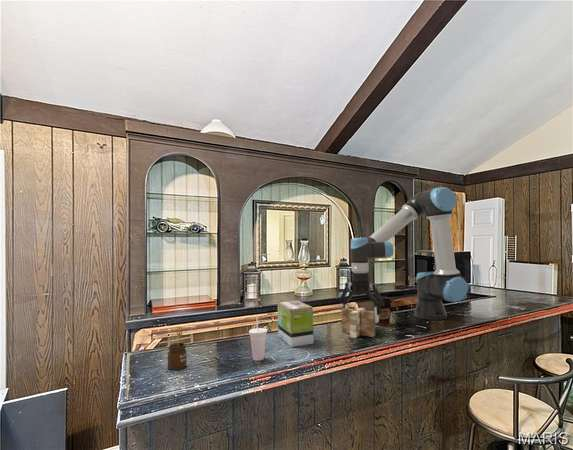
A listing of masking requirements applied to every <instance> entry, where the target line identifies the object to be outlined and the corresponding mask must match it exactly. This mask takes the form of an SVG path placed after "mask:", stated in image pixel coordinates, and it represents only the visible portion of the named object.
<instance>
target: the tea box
mask: <svg viewBox="0 0 573 450" xmlns="http://www.w3.org/2000/svg"><path fill="white" fill-rule="evenodd" d="M277 333H278V337H279V338H280V339H281V340H283V341H284V342H285V343H286V344H287V345H289V346H290V347H291V348H293V347H301V346H307V345H312V344H314V342H315V341H314V340H315V338H314V336H315V335H314V309H313V306H311V305H310V304H306V303H304V302H303V301H299V300H292V301H290V300H289V301H283V302H282V301H281V302H277Z"/></svg>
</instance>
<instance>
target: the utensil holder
mask: <svg viewBox="0 0 573 450" xmlns="http://www.w3.org/2000/svg"><path fill="white" fill-rule="evenodd" d="M176 331H177V332H176V336H175V339H177V342H175V340H174V339H173V338H174V334H172V336H171V342H172V343H171V344H169V346H168V353H167V368H168V369H169V370H173V371H174V370H176V371H177V370H182V369H183V368H185V367H186V366H187V361H188V360H187V354H188V353H187V349H186V344H185V343H184V342H181V341H180V338H181V337H182V336H183V326H177V330H176Z"/></svg>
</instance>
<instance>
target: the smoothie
mask: <svg viewBox="0 0 573 450" xmlns="http://www.w3.org/2000/svg"><path fill="white" fill-rule="evenodd" d="M255 323H256V328H251V329H249V330H248V335H249V337H250V345H251V352H252V359H253V361H256V362H257V361H258V362H259V361H263V360H264V359H265V353H266V351H265V350H266V341H267V334H268V329H266V328H263V327H259V316H258V317H257V316H256V321H255Z"/></svg>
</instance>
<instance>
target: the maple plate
mask: <svg viewBox="0 0 573 450" xmlns="http://www.w3.org/2000/svg"><path fill="white" fill-rule="evenodd" d="M362 310H366V311H367V308H366V307H362V306H361V307H358V308H356V309H355V310H354V311H352V312H350V313H349V318H350V333H349V338H351V339H352V338H353V339H357V338H358V337H360V336H361V335H360V324H359V323H360V322H361V311H362Z"/></svg>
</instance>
